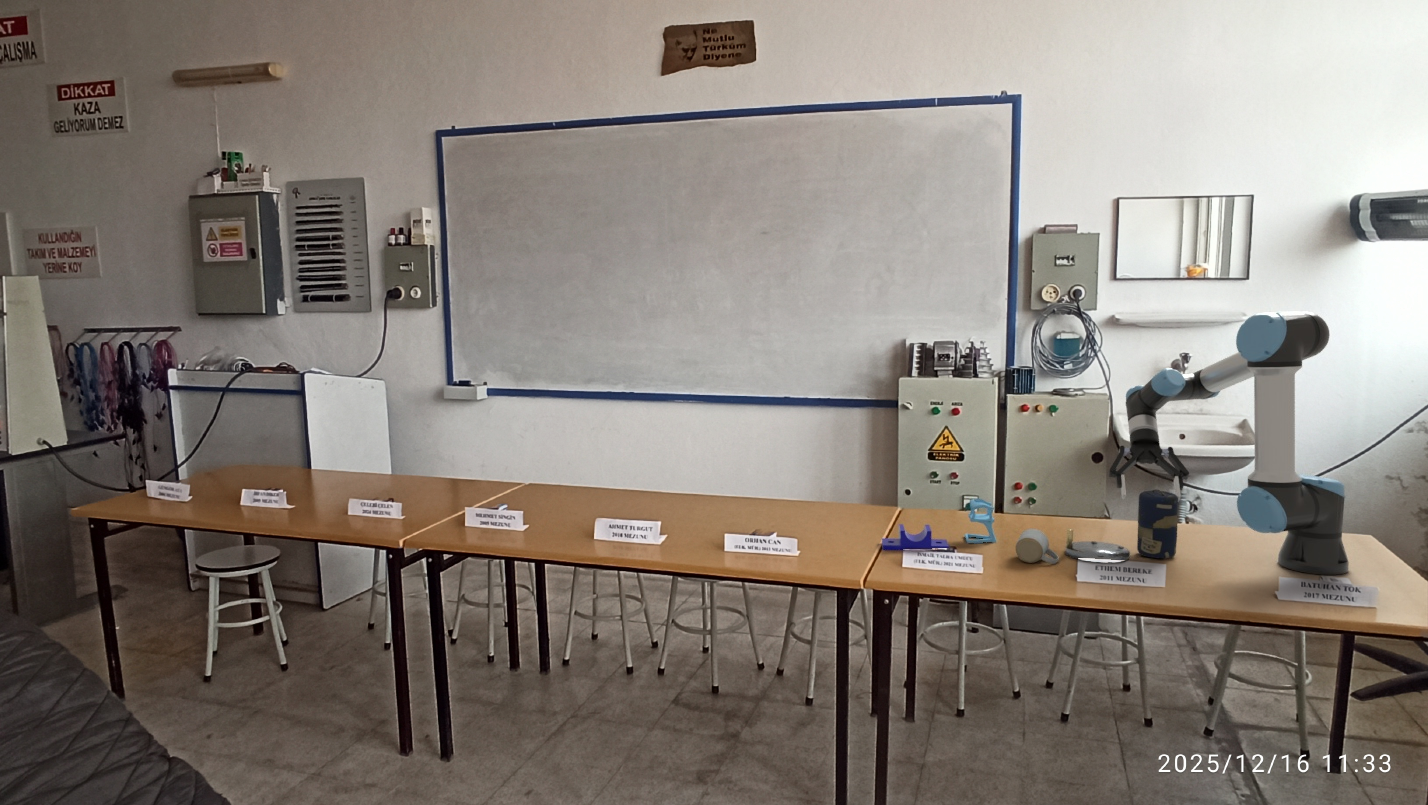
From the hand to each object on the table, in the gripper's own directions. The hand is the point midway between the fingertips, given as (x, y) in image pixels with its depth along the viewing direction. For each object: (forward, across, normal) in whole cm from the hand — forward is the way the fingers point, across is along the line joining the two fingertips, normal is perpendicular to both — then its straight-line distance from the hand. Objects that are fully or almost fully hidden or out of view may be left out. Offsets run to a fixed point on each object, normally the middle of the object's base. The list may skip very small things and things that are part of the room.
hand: (1151, 498), depth 258 cm
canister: (+14, -1, -6) cm, 16 cm away
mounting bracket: (+17, +62, -4) cm, 65 cm away
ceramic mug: (+22, +30, +2) cm, 37 cm away
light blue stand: (+10, +44, -11) cm, 47 cm away
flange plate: (+16, +14, -4) cm, 22 cm away
